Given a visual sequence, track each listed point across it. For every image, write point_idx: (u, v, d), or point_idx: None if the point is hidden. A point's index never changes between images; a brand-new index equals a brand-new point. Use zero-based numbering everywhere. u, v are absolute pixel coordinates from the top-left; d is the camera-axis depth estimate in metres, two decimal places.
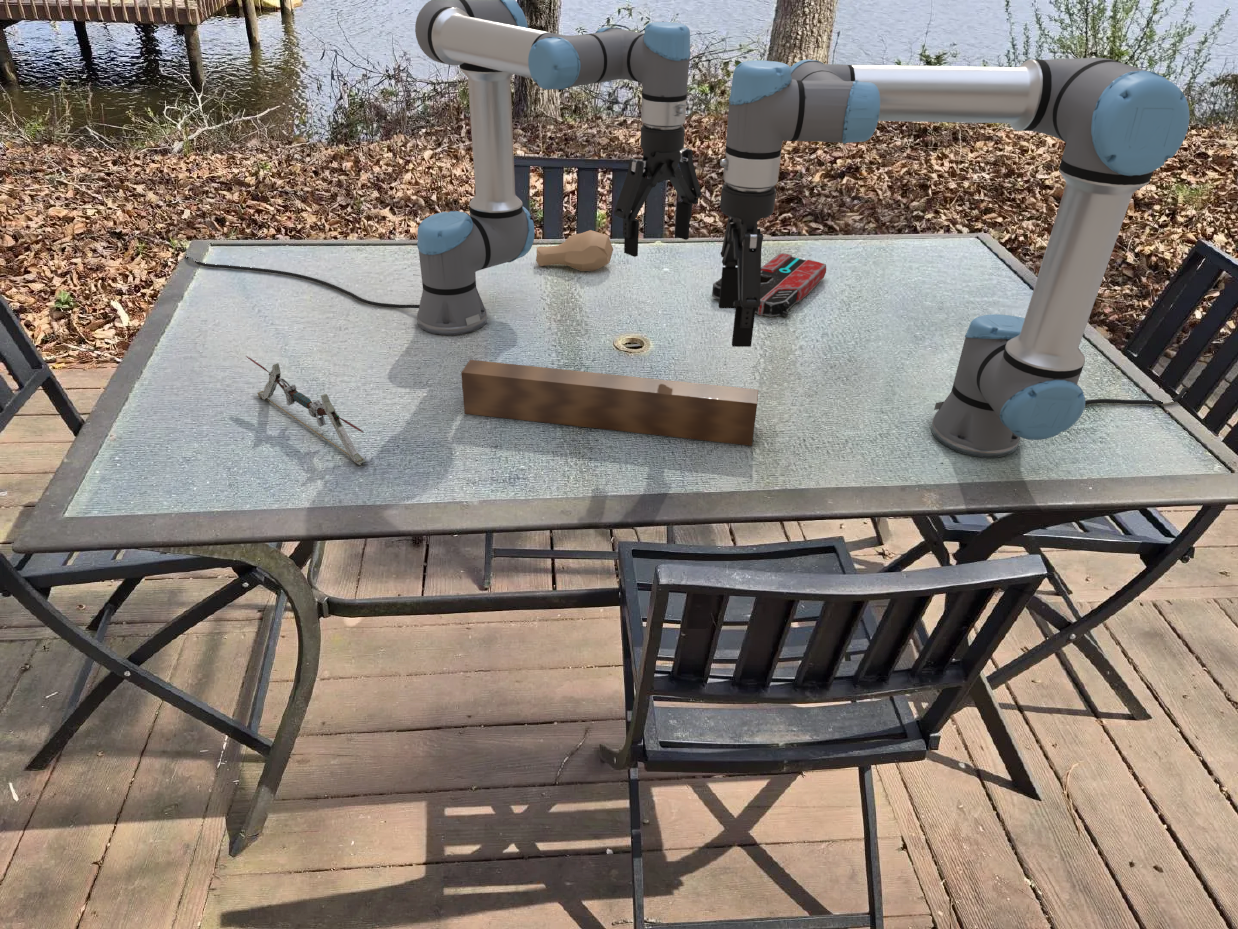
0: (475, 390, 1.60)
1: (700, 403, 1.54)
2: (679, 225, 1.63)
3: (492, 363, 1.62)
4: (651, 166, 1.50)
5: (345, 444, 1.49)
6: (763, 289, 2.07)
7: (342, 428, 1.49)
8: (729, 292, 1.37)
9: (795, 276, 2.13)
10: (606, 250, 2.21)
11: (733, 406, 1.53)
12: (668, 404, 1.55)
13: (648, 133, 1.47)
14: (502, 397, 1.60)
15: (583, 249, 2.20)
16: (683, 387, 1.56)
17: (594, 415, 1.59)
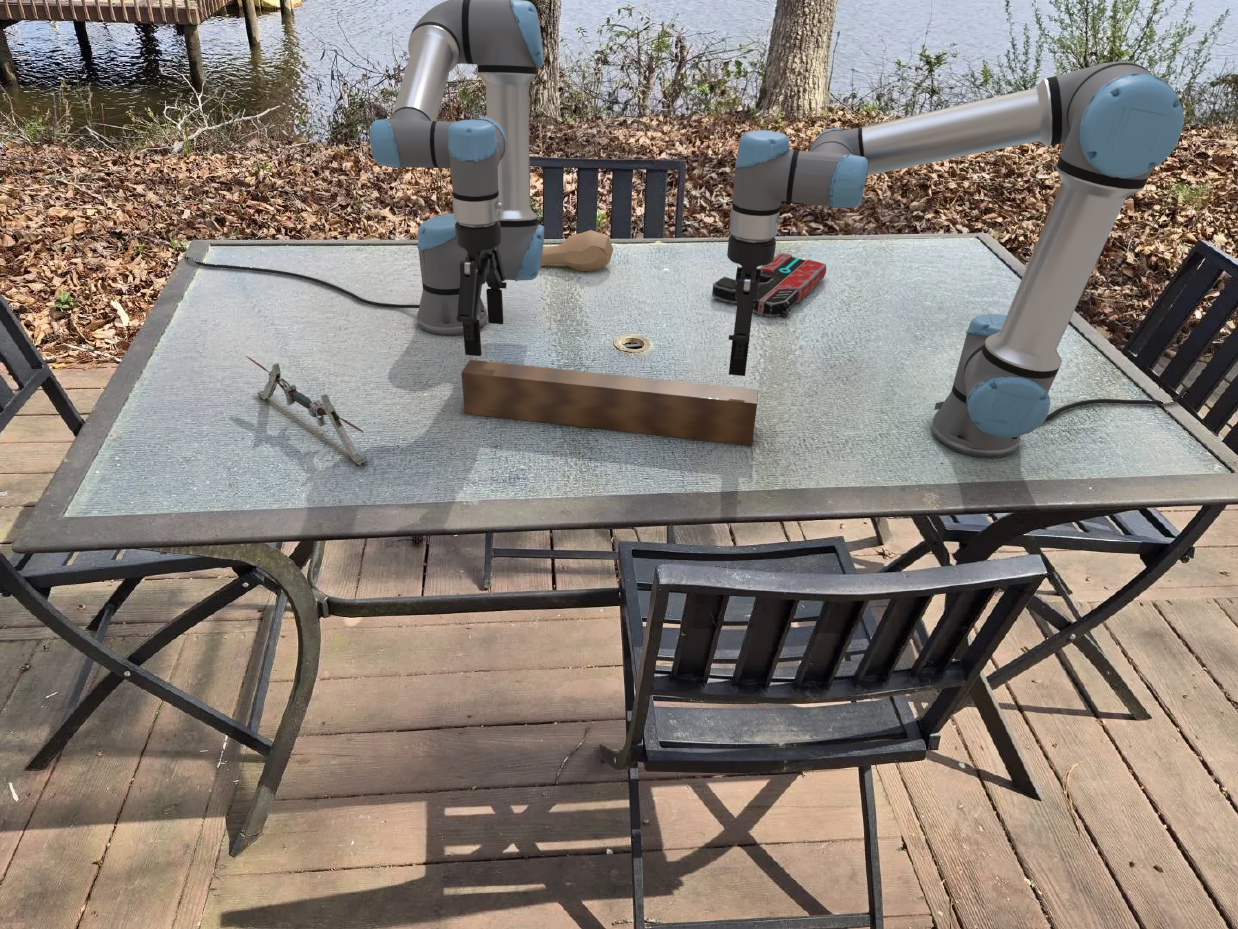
0: (475, 390, 1.60)
1: (700, 403, 1.54)
2: (492, 312, 1.61)
3: (492, 363, 1.62)
4: (479, 264, 1.45)
5: (345, 444, 1.49)
6: (763, 289, 2.07)
7: (342, 428, 1.49)
8: None
9: (795, 276, 2.13)
10: (606, 250, 2.21)
11: (733, 406, 1.53)
12: (668, 404, 1.55)
13: (472, 233, 1.43)
14: (502, 397, 1.60)
15: (583, 249, 2.20)
16: (683, 387, 1.56)
17: (594, 415, 1.59)
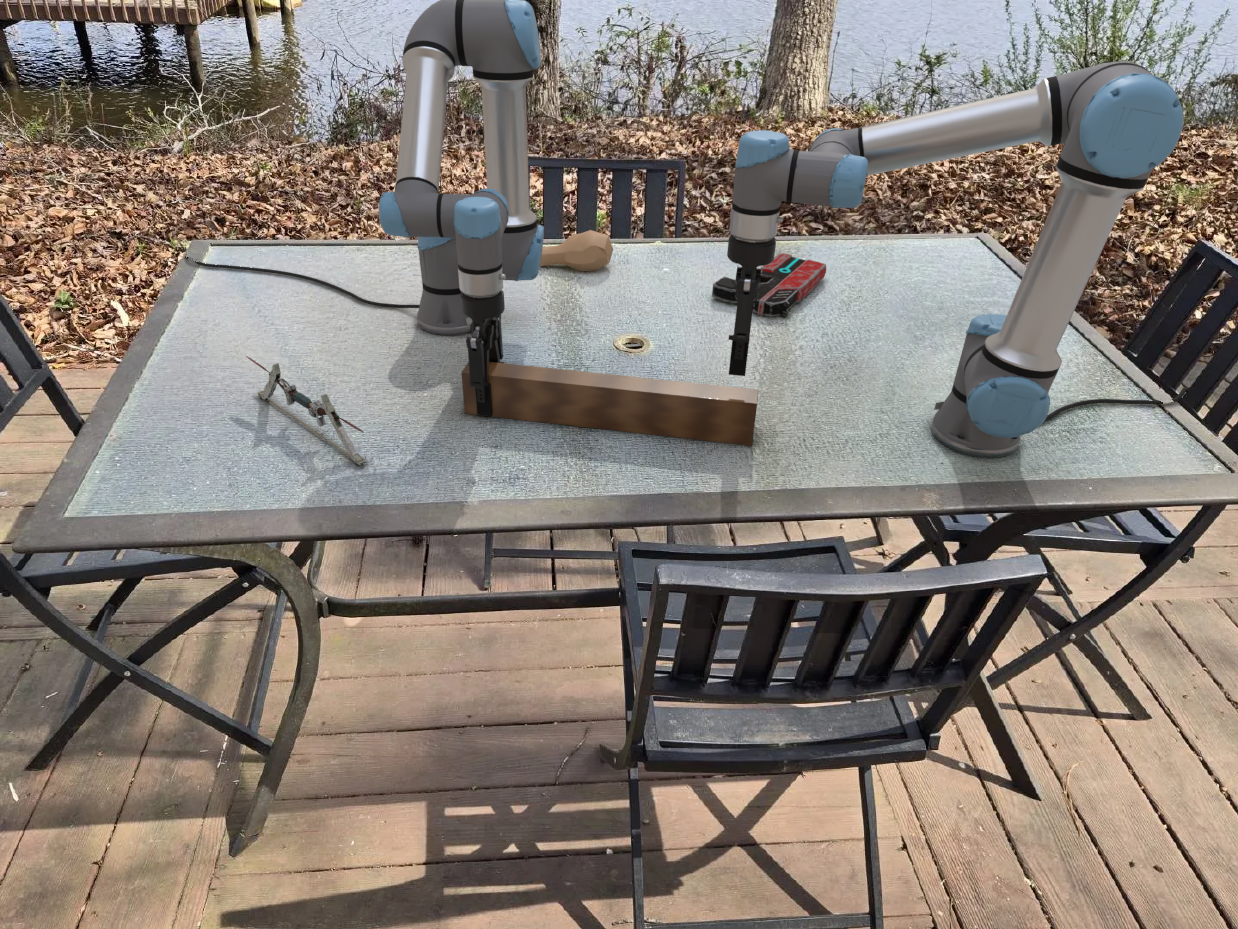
0: None
1: (700, 403, 1.54)
2: None
3: (492, 363, 1.62)
4: (483, 332, 1.52)
5: (345, 444, 1.49)
6: (763, 289, 2.07)
7: (342, 428, 1.49)
8: None
9: (795, 276, 2.13)
10: (606, 250, 2.21)
11: (733, 406, 1.53)
12: (668, 404, 1.55)
13: (476, 304, 1.49)
14: (502, 397, 1.60)
15: (583, 249, 2.20)
16: (683, 387, 1.56)
17: (594, 415, 1.59)
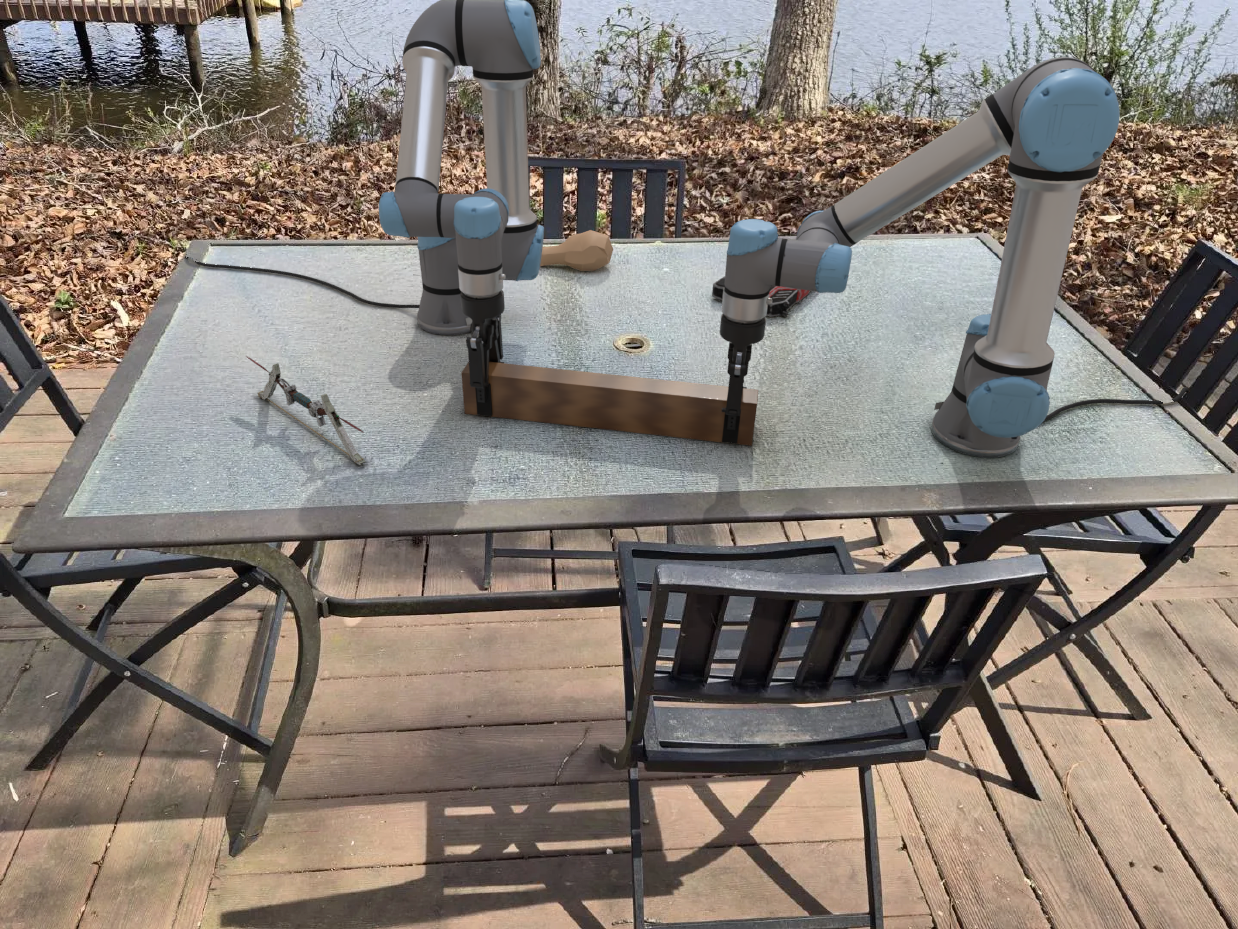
0: None
1: (700, 403, 1.54)
2: None
3: (492, 363, 1.62)
4: (483, 332, 1.52)
5: (345, 444, 1.49)
6: None
7: (342, 428, 1.49)
8: None
9: None
10: (606, 250, 2.21)
11: None
12: (668, 404, 1.55)
13: (476, 304, 1.49)
14: (502, 397, 1.60)
15: (583, 249, 2.20)
16: (683, 387, 1.56)
17: (594, 415, 1.59)
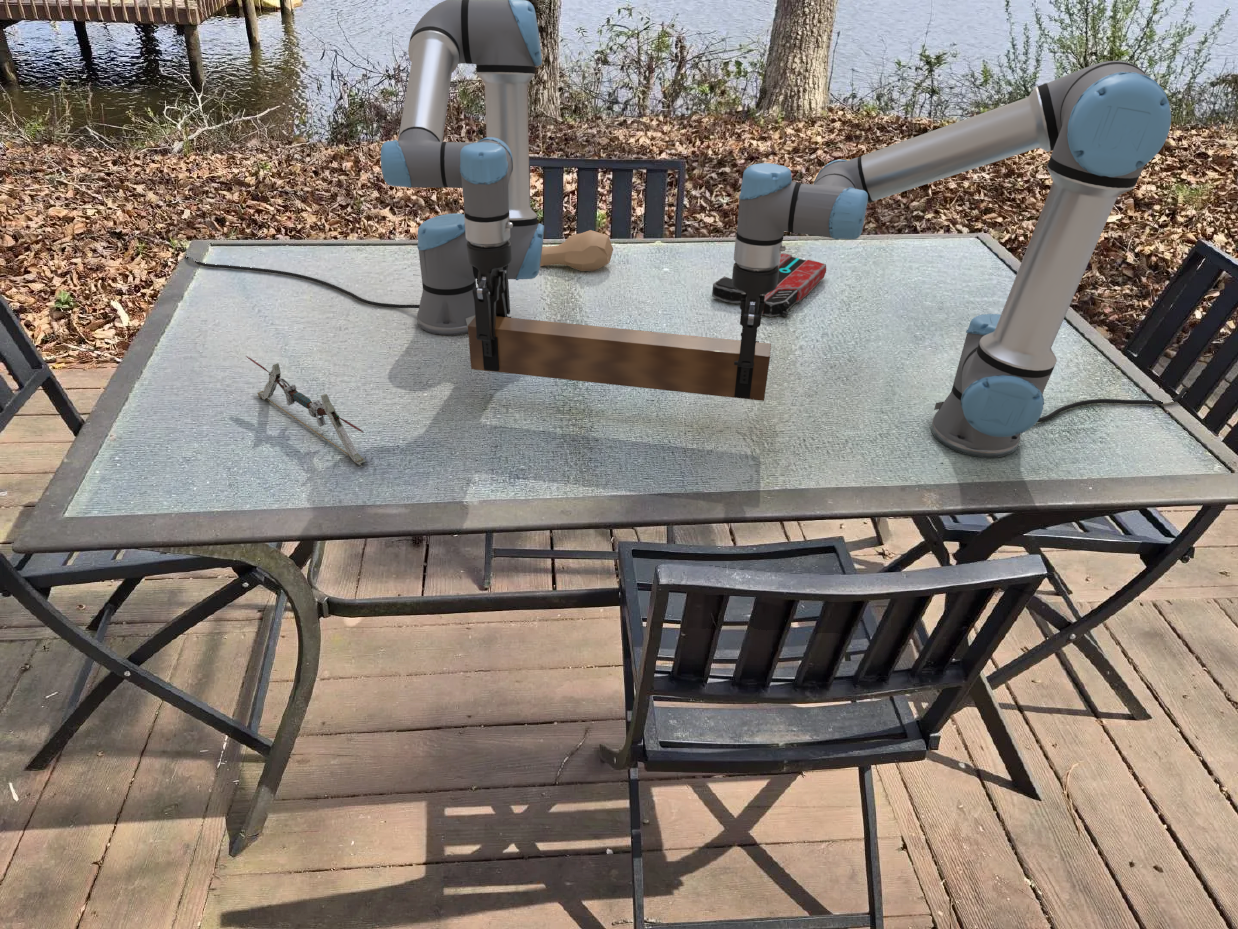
0: None
1: (712, 356, 1.51)
2: None
3: (499, 317, 1.59)
4: (490, 282, 1.49)
5: (345, 444, 1.49)
6: None
7: (342, 428, 1.49)
8: None
9: (795, 276, 2.13)
10: (606, 250, 2.21)
11: None
12: (679, 358, 1.52)
13: (483, 253, 1.46)
14: (510, 352, 1.57)
15: (583, 249, 2.20)
16: (694, 340, 1.53)
17: (603, 370, 1.56)
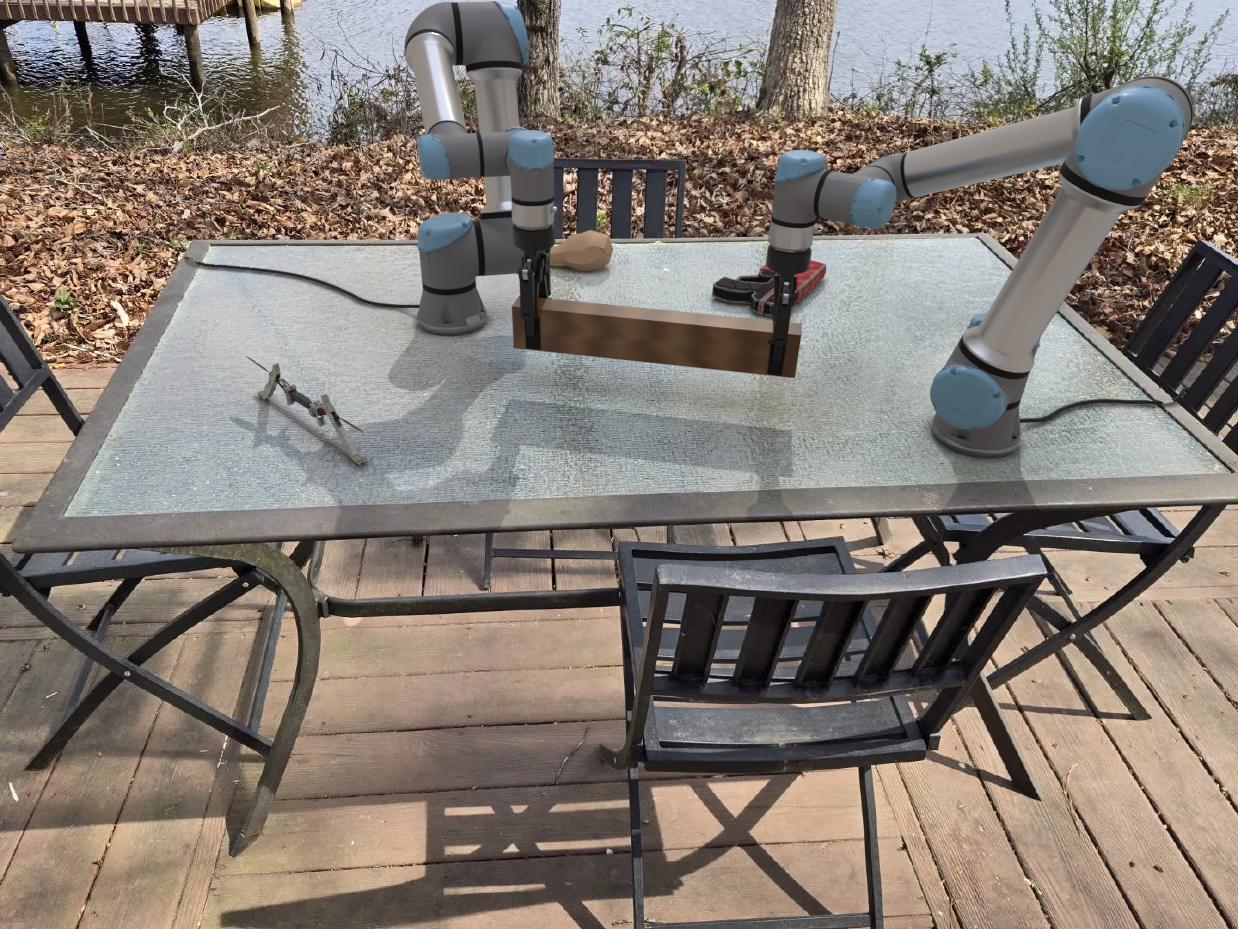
0: None
1: (745, 335, 1.58)
2: None
3: (541, 298, 1.67)
4: (535, 264, 1.57)
5: (345, 444, 1.49)
6: (763, 289, 2.07)
7: (342, 428, 1.49)
8: None
9: None
10: (606, 250, 2.21)
11: None
12: (714, 336, 1.59)
13: (529, 236, 1.54)
14: (551, 331, 1.65)
15: (583, 249, 2.20)
16: (728, 320, 1.61)
17: (640, 348, 1.63)
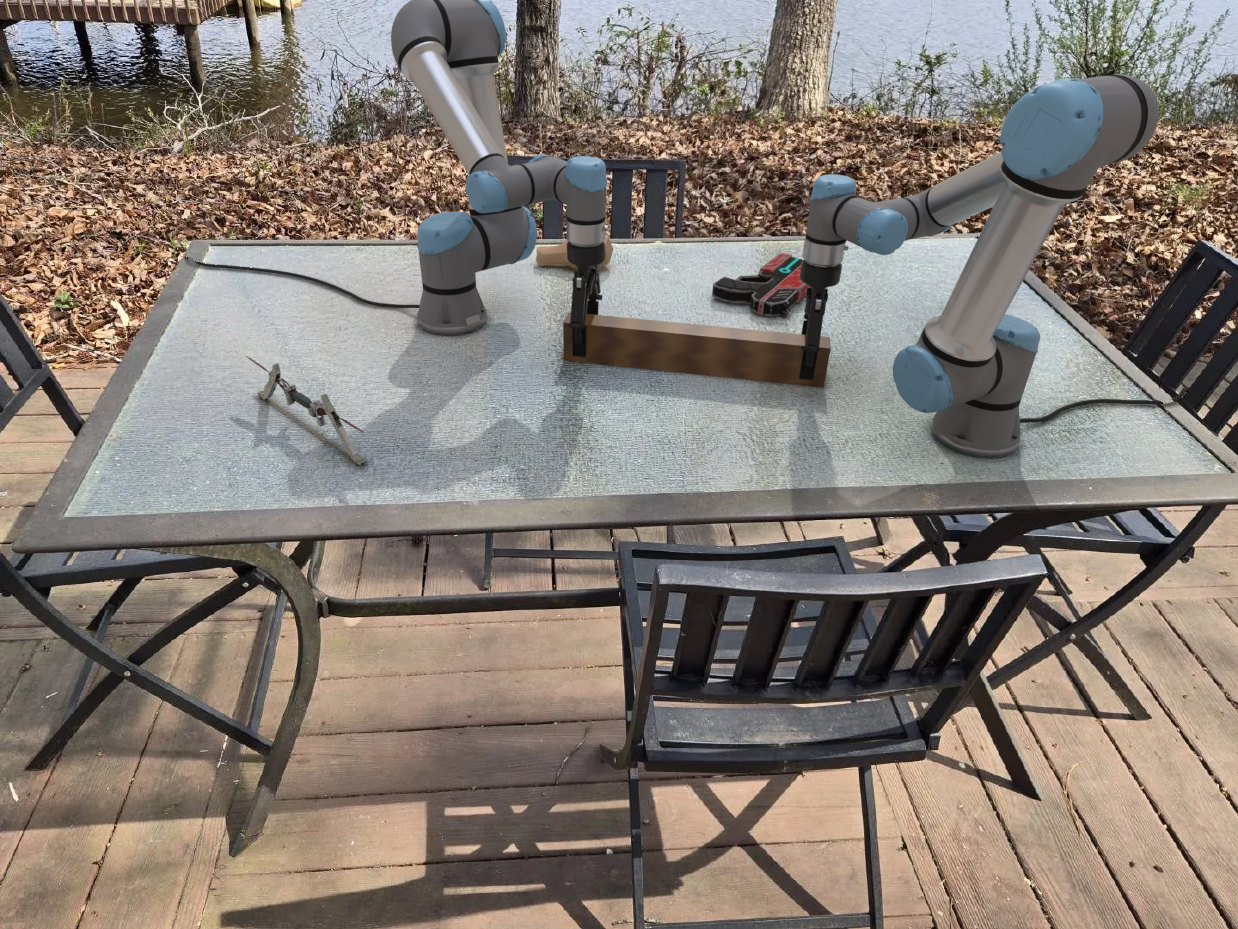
0: None
1: (779, 348, 1.73)
2: None
3: (589, 315, 1.81)
4: (587, 278, 1.71)
5: (345, 444, 1.49)
6: (763, 289, 2.07)
7: (342, 428, 1.49)
8: None
9: (795, 276, 2.13)
10: (606, 250, 2.21)
11: None
12: (750, 349, 1.74)
13: (583, 252, 1.68)
14: (599, 345, 1.79)
15: None
16: (763, 334, 1.75)
17: (682, 361, 1.78)
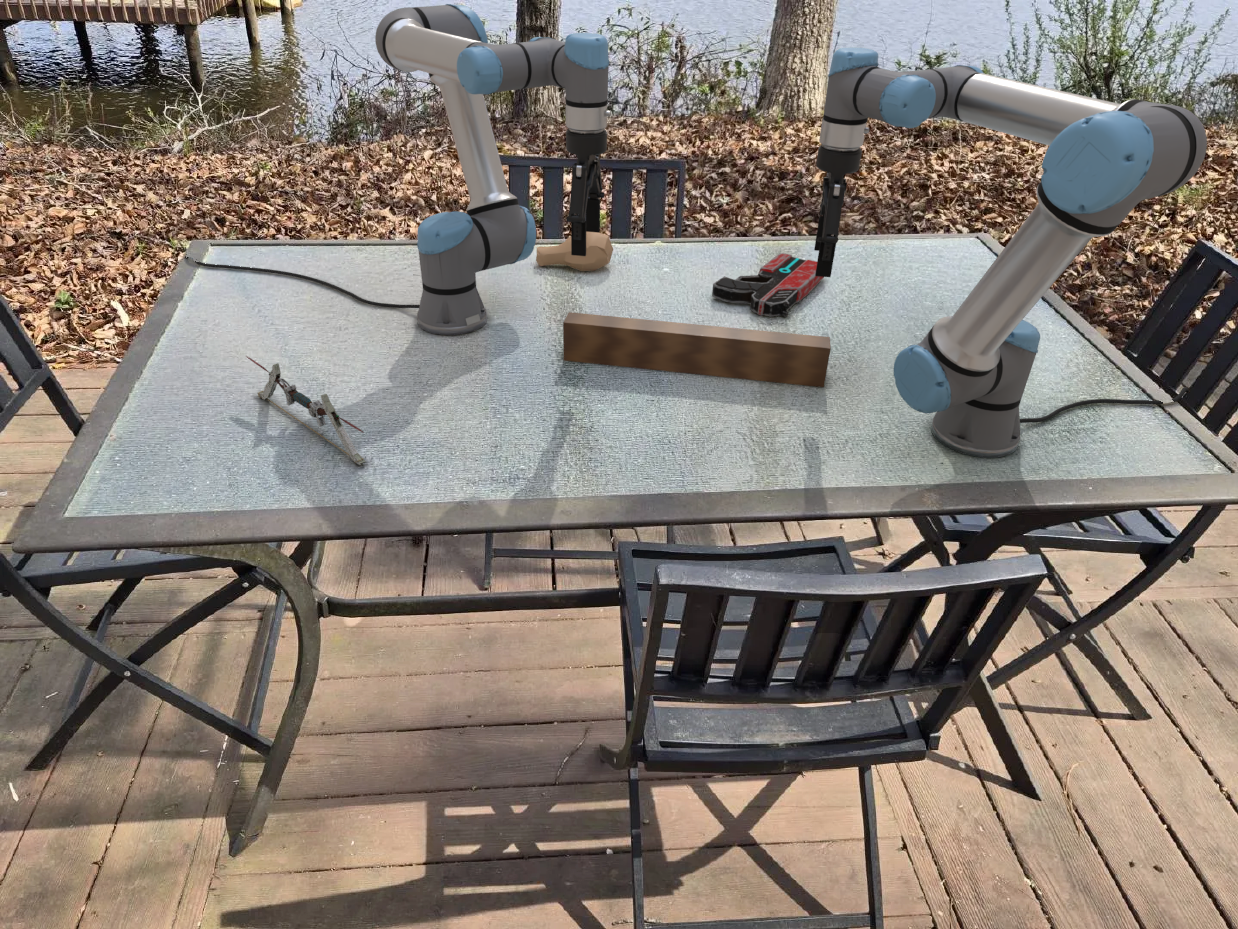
0: (575, 338, 1.79)
1: (779, 348, 1.73)
2: (590, 220, 1.74)
3: (589, 315, 1.81)
4: (588, 169, 1.59)
5: (345, 444, 1.49)
6: (763, 289, 2.07)
7: (342, 428, 1.49)
8: None
9: (795, 276, 2.13)
10: (606, 250, 2.21)
11: (809, 351, 1.72)
12: (750, 349, 1.74)
13: (583, 139, 1.56)
14: (599, 345, 1.79)
15: None
16: (763, 334, 1.75)
17: (682, 361, 1.78)
